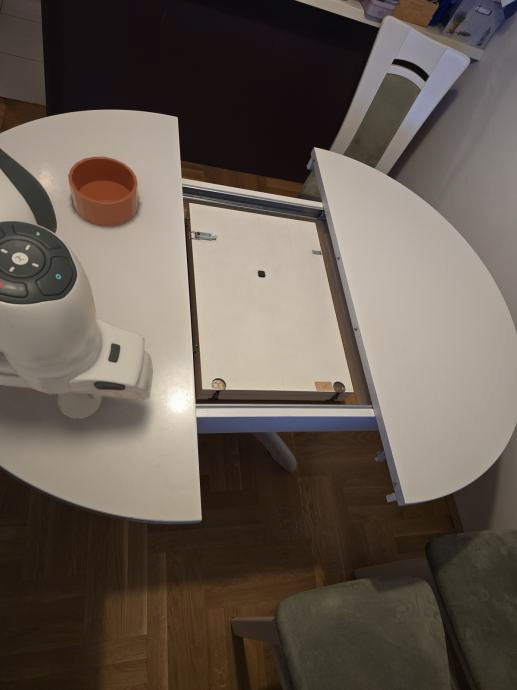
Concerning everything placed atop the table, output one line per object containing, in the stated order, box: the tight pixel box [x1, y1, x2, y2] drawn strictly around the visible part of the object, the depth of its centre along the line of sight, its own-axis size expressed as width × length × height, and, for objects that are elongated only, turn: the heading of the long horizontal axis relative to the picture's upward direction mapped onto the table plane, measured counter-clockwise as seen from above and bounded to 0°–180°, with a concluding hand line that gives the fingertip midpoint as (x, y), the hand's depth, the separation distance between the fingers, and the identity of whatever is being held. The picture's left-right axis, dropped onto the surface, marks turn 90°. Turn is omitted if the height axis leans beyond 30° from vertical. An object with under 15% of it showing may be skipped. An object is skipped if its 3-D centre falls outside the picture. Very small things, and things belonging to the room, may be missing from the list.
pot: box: [67, 156, 139, 227], centre depth 77 cm, size 12×12×6 cm
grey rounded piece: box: [57, 391, 102, 420], centre depth 53 cm, size 6×6×13 cm
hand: (75, 391), depth 53 cm, fingers closed on grey rounded piece, 3 cm apart
